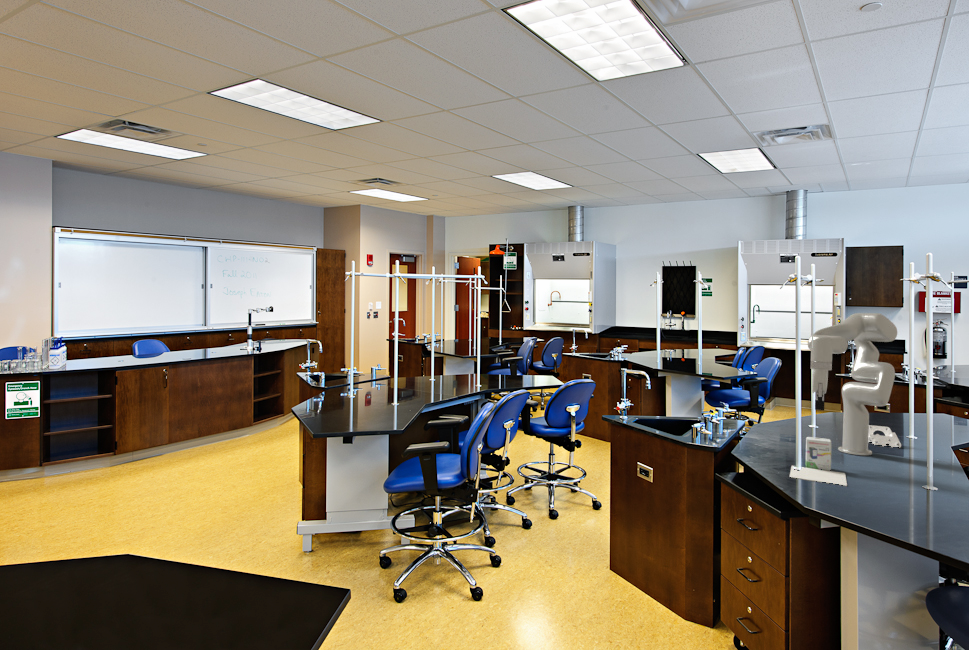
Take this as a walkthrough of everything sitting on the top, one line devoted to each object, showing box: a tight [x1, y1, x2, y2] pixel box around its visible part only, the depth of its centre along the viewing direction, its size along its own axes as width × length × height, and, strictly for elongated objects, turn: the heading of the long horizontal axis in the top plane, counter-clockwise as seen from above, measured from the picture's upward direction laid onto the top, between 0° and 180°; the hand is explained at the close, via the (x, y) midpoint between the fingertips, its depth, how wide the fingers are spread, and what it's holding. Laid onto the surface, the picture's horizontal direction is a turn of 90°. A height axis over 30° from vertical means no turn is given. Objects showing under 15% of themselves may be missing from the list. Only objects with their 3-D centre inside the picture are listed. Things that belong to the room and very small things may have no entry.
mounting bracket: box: [868, 424, 902, 449], centre depth 256 cm, size 12×6×11 cm, turn 62°
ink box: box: [805, 436, 832, 471], centre depth 215 cm, size 9×5×12 cm, turn 62°
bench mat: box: [789, 465, 848, 487], centre depth 205 cm, size 18×18×1 cm
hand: (819, 409), depth 223 cm, fingers closed
